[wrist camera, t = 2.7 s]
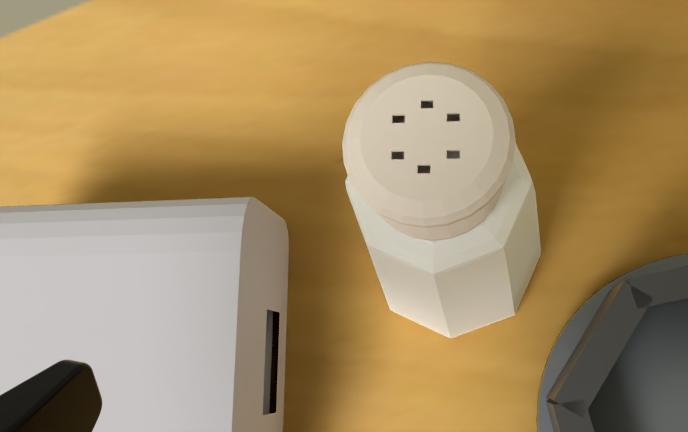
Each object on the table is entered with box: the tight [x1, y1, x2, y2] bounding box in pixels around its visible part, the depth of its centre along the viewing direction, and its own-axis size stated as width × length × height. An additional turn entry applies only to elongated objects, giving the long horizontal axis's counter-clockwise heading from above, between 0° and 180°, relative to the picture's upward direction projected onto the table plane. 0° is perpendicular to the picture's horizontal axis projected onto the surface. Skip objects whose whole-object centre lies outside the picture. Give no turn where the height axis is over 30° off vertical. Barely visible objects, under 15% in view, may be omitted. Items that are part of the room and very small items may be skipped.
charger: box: [0, 197, 289, 432], centre depth 21 cm, size 5×9×15 cm
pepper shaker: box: [342, 62, 541, 339], centre depth 16 cm, size 5×5×11 cm
